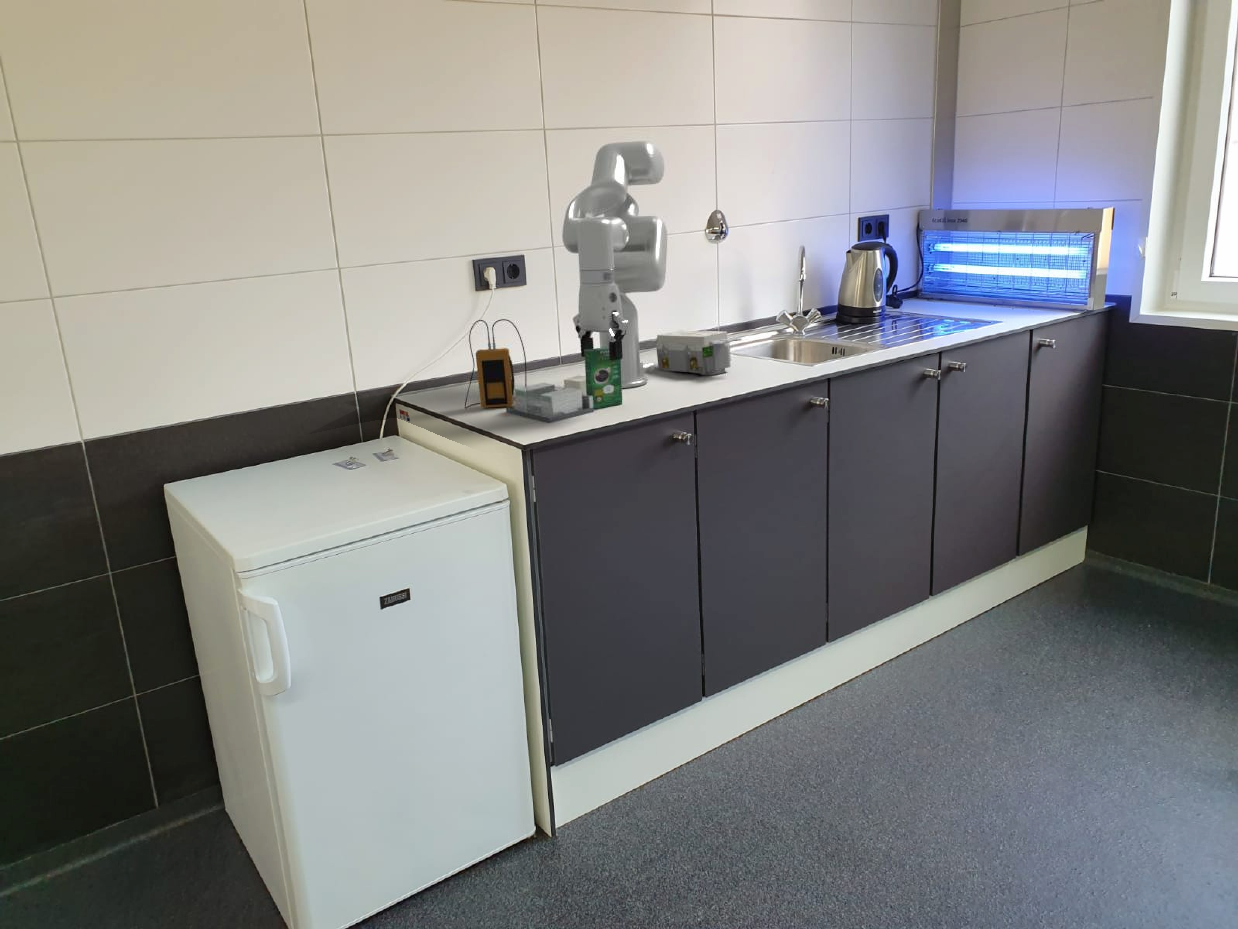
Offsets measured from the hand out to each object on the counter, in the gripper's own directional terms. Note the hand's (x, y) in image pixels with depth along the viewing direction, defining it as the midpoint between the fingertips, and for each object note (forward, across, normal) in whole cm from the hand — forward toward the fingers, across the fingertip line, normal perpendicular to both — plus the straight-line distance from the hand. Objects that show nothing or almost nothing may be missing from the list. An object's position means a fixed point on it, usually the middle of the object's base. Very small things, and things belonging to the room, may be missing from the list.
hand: (601, 357), depth 201 cm
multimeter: (+11, +24, +12) cm, 29 cm away
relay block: (+11, +11, -2) cm, 15 cm away
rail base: (+11, +7, +10) cm, 16 cm away
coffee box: (+11, +1, -1) cm, 11 cm away
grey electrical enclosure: (+10, +13, -41) cm, 44 cm away
